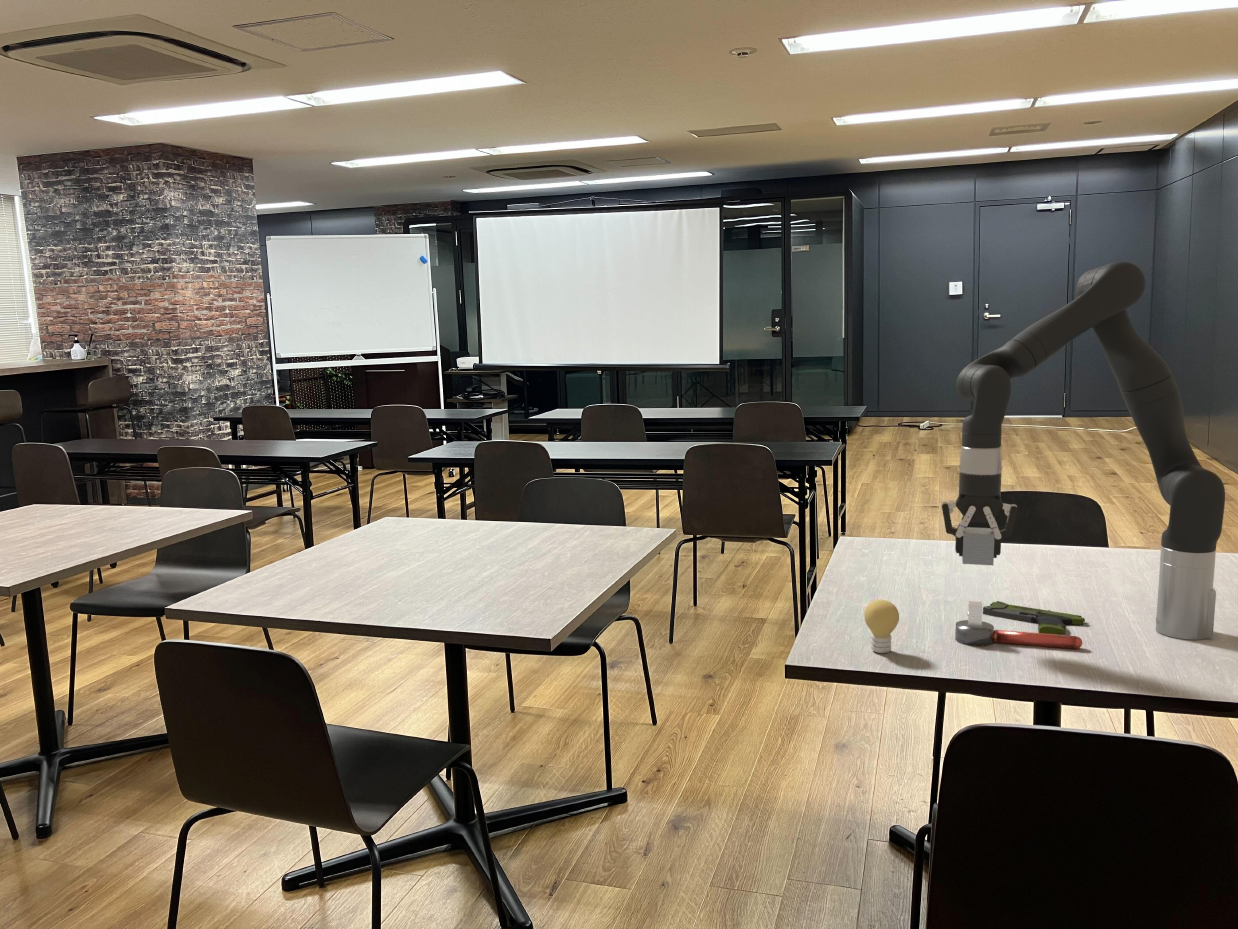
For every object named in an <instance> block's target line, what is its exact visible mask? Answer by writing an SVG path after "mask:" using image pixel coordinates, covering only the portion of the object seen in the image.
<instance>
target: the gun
mask: <svg viewBox="0 0 1238 929" xmlns="http://www.w3.org/2000/svg"><path fill="white" fill-rule="evenodd" d="M982 615H985V616H991V617H996V618H1003V619H1009V620H1015V621H1016V620H1017V621H1023V622H1028V623H1034V624H1038V625H1037V629H1038V632H1037V633H1043V634H1056V635H1066V626H1065V625H1073V626H1074V625H1075V626H1083V625H1084V623H1085V622H1086V618H1084V617H1082V615H1080V614H1071V613H1067V612H1066V613H1065V612H1059V611H1053V610H1050V609H1048V610H1047V609H1041V608H1036V607H1035V608H1034V607H1027V606H1021V605H1015V604H1008V603H1006V602H1004V601H1000V600H996V601H993V602H992V603H990V605H986V606H982Z"/></svg>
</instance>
